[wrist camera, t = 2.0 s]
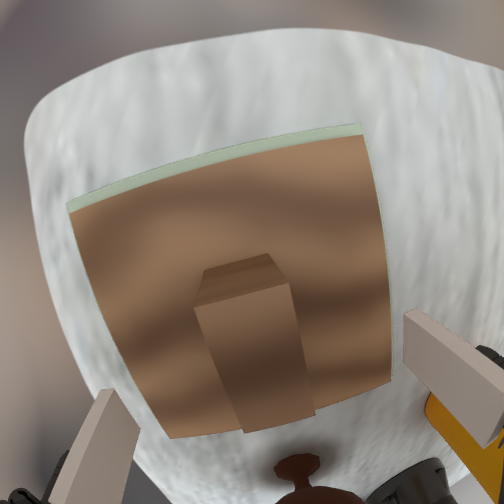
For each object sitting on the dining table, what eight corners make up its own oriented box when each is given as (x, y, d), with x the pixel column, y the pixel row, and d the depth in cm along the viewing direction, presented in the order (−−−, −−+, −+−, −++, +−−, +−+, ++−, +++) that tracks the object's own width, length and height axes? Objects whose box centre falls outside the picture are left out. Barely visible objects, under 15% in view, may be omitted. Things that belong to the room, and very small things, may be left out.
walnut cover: (383, 372, 22) (425, 422, 15) (172, 427, 21) (161, 490, 14) (353, 138, 18) (416, 114, 10) (79, 211, 17) (12, 224, 10)
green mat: (388, 371, 23) (392, 375, 22) (168, 429, 22) (166, 435, 21) (357, 125, 18) (361, 123, 17) (71, 202, 18) (65, 203, 17)
